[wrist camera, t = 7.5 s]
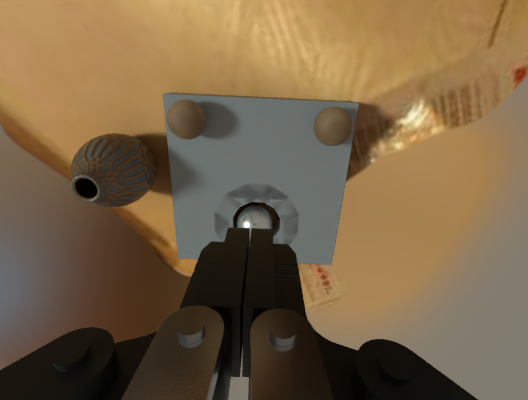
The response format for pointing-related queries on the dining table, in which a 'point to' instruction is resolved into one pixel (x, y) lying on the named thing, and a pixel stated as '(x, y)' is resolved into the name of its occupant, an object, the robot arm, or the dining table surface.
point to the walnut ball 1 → (186, 119)
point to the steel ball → (254, 218)
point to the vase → (112, 170)
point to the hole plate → (258, 172)
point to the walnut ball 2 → (333, 126)
